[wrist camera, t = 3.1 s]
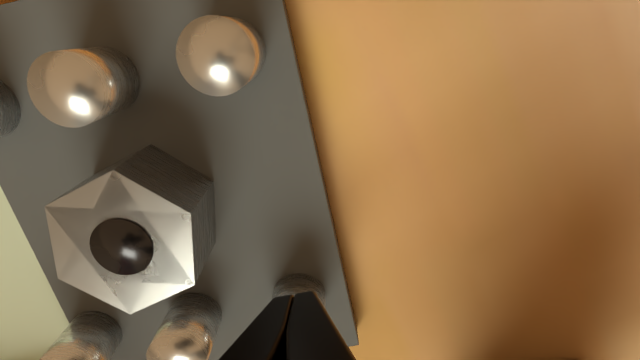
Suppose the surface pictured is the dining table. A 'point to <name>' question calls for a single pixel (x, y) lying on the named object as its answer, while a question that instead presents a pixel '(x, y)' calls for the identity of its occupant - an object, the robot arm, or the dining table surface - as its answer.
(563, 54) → the dining table surface
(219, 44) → the standoffs
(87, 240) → the steel nut
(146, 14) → the mat
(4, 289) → the parts tray
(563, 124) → the dining table surface
